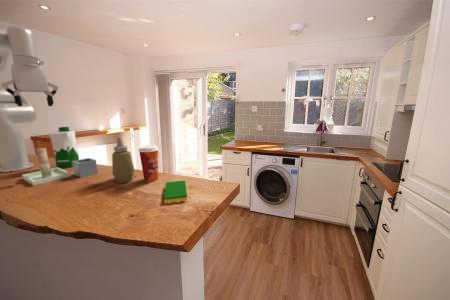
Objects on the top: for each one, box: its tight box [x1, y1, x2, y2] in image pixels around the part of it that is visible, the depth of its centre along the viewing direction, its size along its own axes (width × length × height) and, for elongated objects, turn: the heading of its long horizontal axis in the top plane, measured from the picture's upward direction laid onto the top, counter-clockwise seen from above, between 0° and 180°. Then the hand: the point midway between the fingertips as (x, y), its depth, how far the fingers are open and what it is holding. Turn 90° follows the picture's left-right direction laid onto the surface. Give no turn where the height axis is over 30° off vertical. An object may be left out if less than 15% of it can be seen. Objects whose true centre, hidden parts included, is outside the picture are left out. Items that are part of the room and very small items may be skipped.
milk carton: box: [48, 126, 80, 169], centre depth 99 cm, size 9×9×20 cm
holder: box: [72, 157, 99, 179], centre depth 88 cm, size 7×7×7 cm
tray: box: [21, 166, 72, 187], centre depth 84 cm, size 14×12×3 cm
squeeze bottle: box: [111, 137, 135, 184], centre depth 81 cm, size 8×8×18 cm
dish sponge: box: [164, 180, 188, 205], centre depth 70 cm, size 7×14×2 cm, turn 14°
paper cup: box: [138, 144, 159, 183], centre depth 83 cm, size 8×8×14 cm
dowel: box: [35, 147, 52, 178], centre depth 83 cm, size 3×3×12 cm
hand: (36, 106), depth 84 cm, fingers open, 9 cm apart
